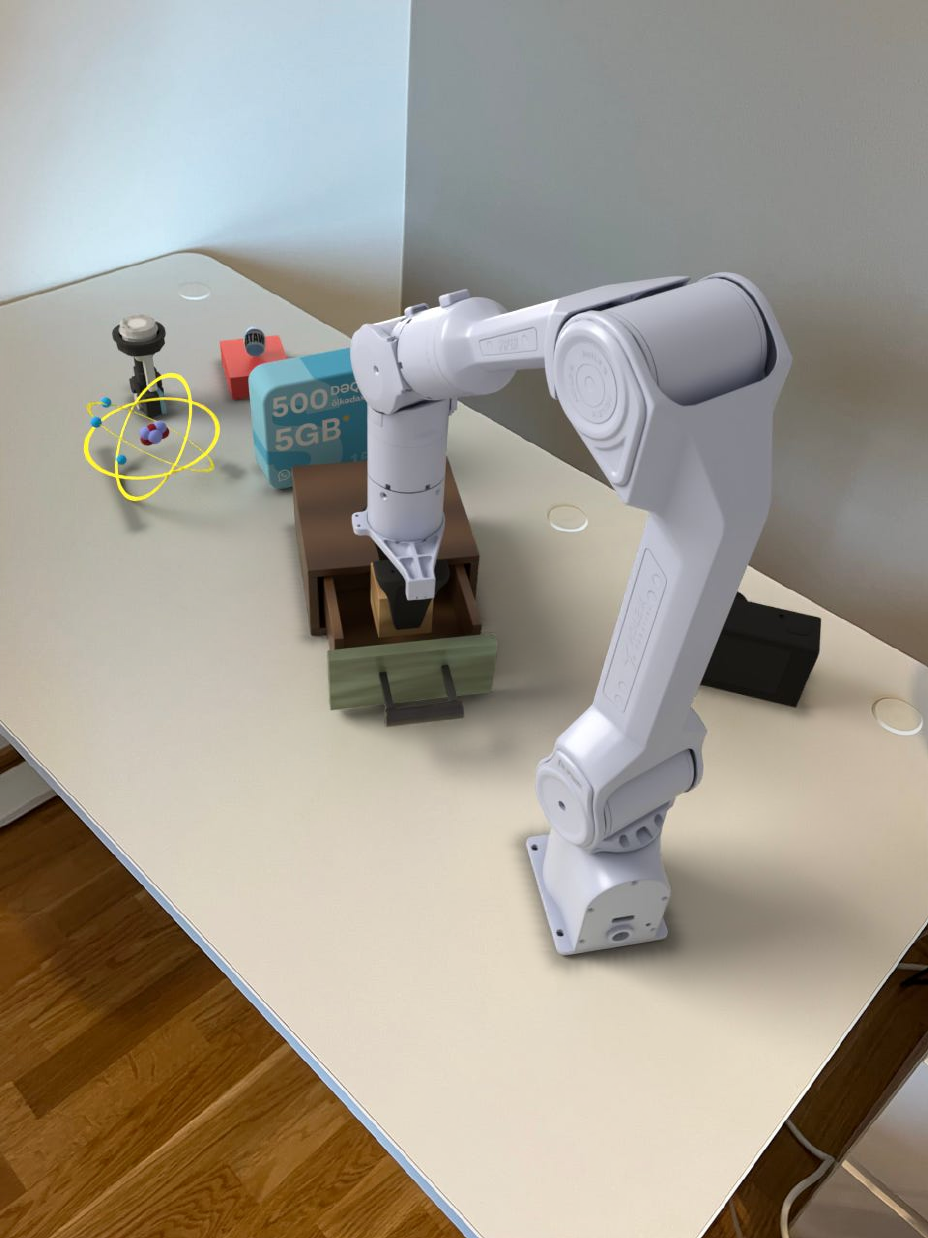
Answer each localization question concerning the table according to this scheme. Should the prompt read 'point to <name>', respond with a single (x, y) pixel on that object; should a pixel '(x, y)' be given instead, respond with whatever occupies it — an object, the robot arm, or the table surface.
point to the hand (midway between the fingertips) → (402, 604)
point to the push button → (143, 358)
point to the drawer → (405, 652)
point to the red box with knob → (248, 358)
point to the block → (384, 615)
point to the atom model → (149, 437)
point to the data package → (307, 414)
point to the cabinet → (331, 541)
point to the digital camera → (764, 652)
